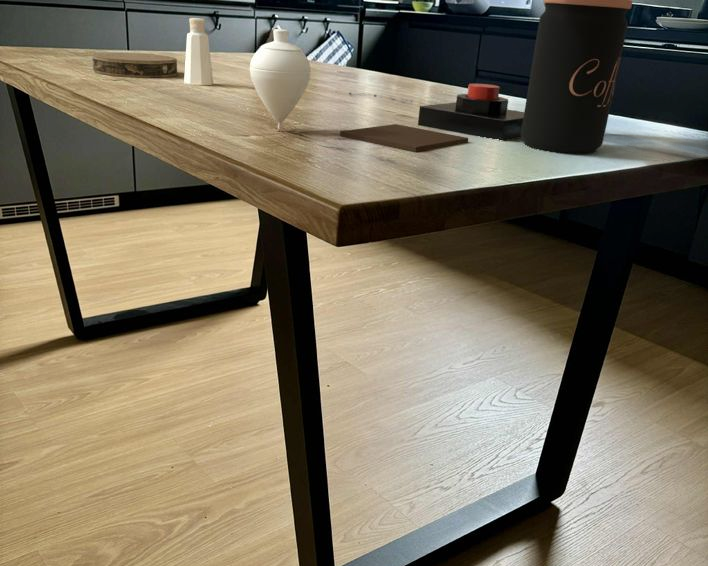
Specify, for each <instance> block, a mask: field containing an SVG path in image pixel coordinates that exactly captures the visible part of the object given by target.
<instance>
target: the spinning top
mask: <svg viewBox="0 0 708 566" xmlns="http://www.w3.org/2000/svg"><path fill="white" fill-rule="evenodd" d="M272 32H273V33H272V34H273V41H270V42H267V43H264V44H262V45H261V46H259V48H258V49H257V50H256V52H255V53H254V54H253V55H252V58H251V60H250V63H249V75H250V79H251V82H252V85H253V87H254V89H255V91H256V93H257V95H258V97H259V98H260V100H261V102H262V103H263V105H264V106H265V108H266V110H267V111H268V113H269V114H270V115H271V117H272V118H273V120H274V121H275V122H277V130H278V131H280V130H281V129H282V123H283V122H284V121H285V120H286V119H287V118H288V117H289V116H290V114H291V113H292V112H293V110H294V109H295V107H296V106H297V104H298V103H299V101H300V100H301V98H302V97H303V96H304V93H305V92H306V89H307V88H308V86H309V83H310V79H311V73H312V71H311V70H312V68H311V64H310V61H309V58H308V57H307V56H306V54H305V53H304V52H303V51H302V48H301V47H299V46H297V45H295V44H293V43H291V42H289V36H290V35H289V34H290V31H289V30H288V29H285V28H284V29H283V28H275V29H273V31H272Z"/></svg>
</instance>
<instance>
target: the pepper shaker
mask: <svg viewBox="0 0 708 566" xmlns="http://www.w3.org/2000/svg"><path fill="white" fill-rule="evenodd" d="M188 21H189V32H187V34H186V44H185V59H184V61H185V62H184V75H183V77H184V78H183V83H184V84H185V85H190V86H202V87H203V86H212V85H214V75H213V67H212V57H211V50H210V49H211V48H210V42H209V41H210V40H209V35H208V34H207V33H206V32H205V29H206V28H205V27H206V25H205V24H206V20H205V19H204V18H202V17H201V18H200V17H190V18H189V19H188Z"/></svg>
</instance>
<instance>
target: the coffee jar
mask: <svg viewBox="0 0 708 566" xmlns="http://www.w3.org/2000/svg"><path fill="white" fill-rule="evenodd" d="M542 3H543V5H544V7H545V9H544V12H543V13H542V14H541V15H540V17H539V21H538V26H537V33H536V39H535V45H534V51H533V57H532V64H531V70H530V76H529V82H528V88H527V94H526V100H525V106H524V111H523V112H524V118H523V124H522V130H521V137H520V138H521V140H522V141H523V145H524V144H525V145H524V146H526V145H527V146H529V147H528V148H530V147H531V148H530V149H533V148H534V149H533V150H537V149H539V150H538V151H542V150H543V152H547V151H549V152H548V153H553V152H556V153H555V154H562V153H563V154H564V155H591V154H595V153H596V152H597V150H598V149H600V147H602V144H603V143H604V139H605V134H606V131H607V130H606V129H607V125H608V121H609V120H608V119H609V115H610V110H611V106H612V101H613V96H614V91H615V87H616V84H617V83H616V82H617V77H618V74H619V73H618V72H619V68H620V64H621V59H622V55H623V49H624V44H625V41H626V37H627V36H626V35H627V30H628V25H629V22H628V20H627V18H626V14H627V13H628V12H629V10H631V9H632V6H633V0H542ZM527 146H526V147H527Z"/></svg>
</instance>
